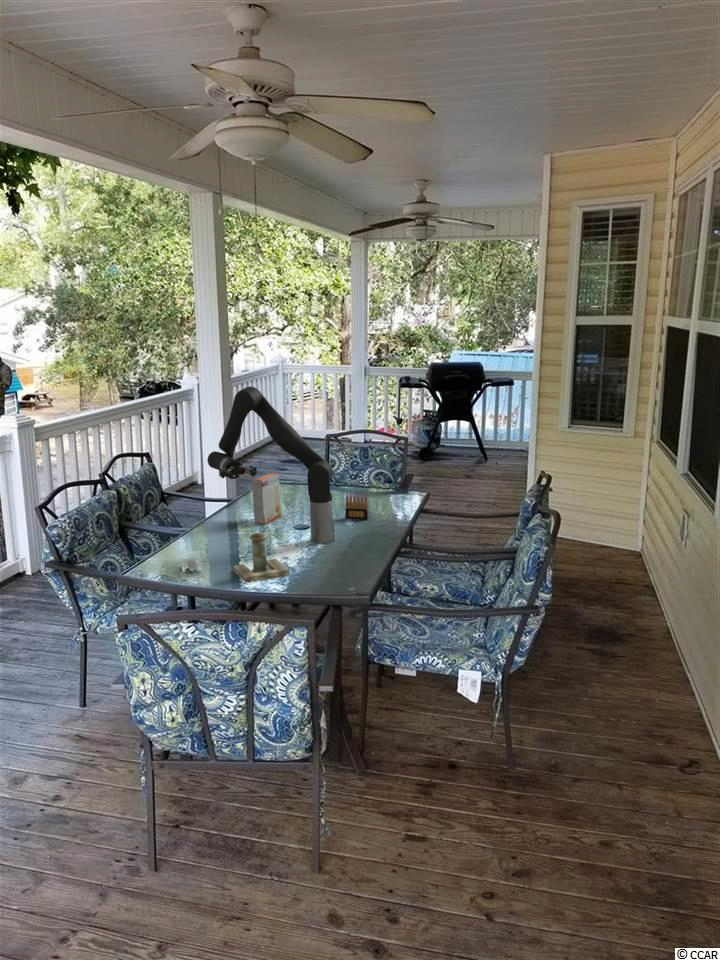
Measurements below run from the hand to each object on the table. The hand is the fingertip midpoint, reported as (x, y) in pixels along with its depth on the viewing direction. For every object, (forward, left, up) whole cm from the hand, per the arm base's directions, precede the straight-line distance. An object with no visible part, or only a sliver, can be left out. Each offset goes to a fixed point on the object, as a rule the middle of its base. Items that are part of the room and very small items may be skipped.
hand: (243, 475), depth 271 cm
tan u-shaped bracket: (+2, +23, -32) cm, 40 cm away
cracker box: (-23, -42, -32) cm, 58 cm away
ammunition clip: (-60, -24, -32) cm, 72 cm away
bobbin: (+2, +22, -32) cm, 39 cm away
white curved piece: (+22, +4, -33) cm, 40 cm away
